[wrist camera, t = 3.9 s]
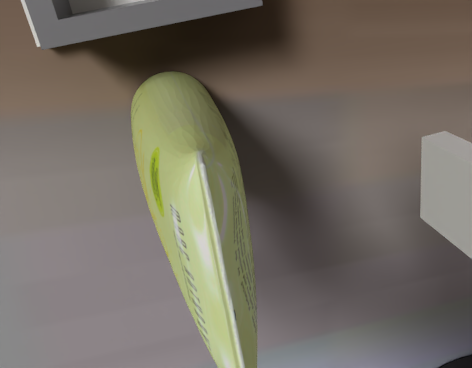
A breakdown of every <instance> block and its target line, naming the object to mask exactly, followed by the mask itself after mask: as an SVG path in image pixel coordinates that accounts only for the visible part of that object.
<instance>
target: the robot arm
mask: <svg viewBox="0 0 472 368" xmlns="http://www.w3.org/2000/svg"><path fill="white" fill-rule="evenodd" d="M420 218H422V219H423V220H424V221H425V222H426V223H428V224H429V225H430V226H431V227H433V228H434V229H435V230H436V231H438V232H439V233H440V234H441V235H443V236H444V237H445V238H446V239H448V240H449V241H450V242H451V243H453V244H454V245H455V246H456V247H458V248H459V249H460V250H461V251H462V252H464V253H465V254H466V255H467V256H469V257H470V258H471V259H472V143H470V142H468V141H466V140H464V139H461V138H459V137H457V136H455V135H453V134H451V133H449V132H446V131H444V132H440V133H436V134H432V135H428V136H424V137H422V155H421V205H420ZM440 368H472V356H469V357H465V358H461V359H459V360H456V361H453V362H451V363H449V364H446V365H444V366H442V367H440Z"/></svg>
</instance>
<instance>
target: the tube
mask: <svg viewBox="0 0 472 368" xmlns="http://www.w3.org/2000/svg"><path fill="white" fill-rule="evenodd" d="M131 126H132V138H133V145H134V151H135V157H136V162H137V167H138V171H139V175H140V179H141V183H142V187H143V190H144V193H145V196H146V200H147V203H148V206H149V209H150V212H151V215H152V218H153V220H154V223H155V226H156V229H157V232H158V234H159V237H160V239H161V242H162V244H163V247H164V249H165V252H166V254H167V257H168V259H169V262H170V264H171V267H172V269H173V272H174V274H175V277H176V279H177V281H178V284H179V286H180V289H181V291H182V294H183V296H184V298H185V301H186V303H187V305H188V307H189V309H190V312H191V314H192V316H193V318H194V320H195V323H196V325H197V327H198V329H199V331H200V334H201V336H202V338H203V340H204V342H205V344H206V346H207V348H208V350H209V352H210V354H211V356H212V357H213V359H214V361H215V363H216V365H217V366H218V368H257V305H256V287H255V273H254V262H253V251H252V243H251V235H250V227H249V219H248V212H247V204H246V197H245V191H244V185H243V179H242V174H241V169H240V164H239V160H238V156H237V153H236V149H235V146H234V143H233V141H232V138H231V136H230V133H229V131H228V128H227V126H226V124H225V122H224V120H223V118H222V116H221V114H220V112H219V110H218V108H217V107H216V105H215V103H214V102H213V100H212V98H211V96H210V95H209V93H208V92H207V90H206V89H205V87H204V86H203V85H202V84H201V83H200V82H199V81H198V80H196V79H195V78H193V77H192V76H190V75H188V74H185V73H181V72H175V71H171V72H162V73H158V74H156V75H154V76H152V77H150V78H148V79H147V80H146V81H144V82H143V83H142V85H141V86H140V87H139V88H138V89H137V91H136V93H135V95H134V98H133V101H132V106H131Z"/></svg>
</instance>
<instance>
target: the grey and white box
mask: <svg viewBox="0 0 472 368" xmlns="http://www.w3.org/2000/svg"><path fill="white" fill-rule="evenodd" d="M21 2H22V5H23V8H24V10H25V13H26V16H27V19H28V22H29V25H30V27H31V30H32V33H33V36H34V39H35V42H36V44H37V47H39V46H41V49H42V50H44V49H49V48H54V47H59V46H64V45H69V44H74V43H79V42H83V41H88V40H93V39H98V38H103V37H108V36H113V35H118V34H123V33H128V32H133V31H138V30H143V29H148V28H153V27H158V26H163V25H168V24H173V23H178V22H183V21H188V20H193V19H198V18H203V17H208V16H213V15H218V14H223V13H228V12H233V11H238V10H243V9H248V8H253V7H258V6H263V3H262V0H21Z"/></svg>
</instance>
